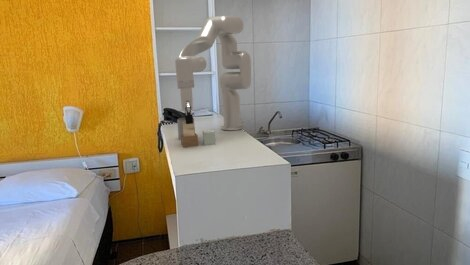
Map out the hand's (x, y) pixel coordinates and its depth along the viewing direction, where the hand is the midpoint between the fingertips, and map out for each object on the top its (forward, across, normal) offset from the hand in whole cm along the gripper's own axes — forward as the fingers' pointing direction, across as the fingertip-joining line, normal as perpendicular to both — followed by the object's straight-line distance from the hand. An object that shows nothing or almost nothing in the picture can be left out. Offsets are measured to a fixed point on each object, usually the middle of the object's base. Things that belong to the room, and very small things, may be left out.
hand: (189, 121), depth 173 cm
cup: (+12, -15, -1) cm, 19 cm away
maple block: (+6, +1, -1) cm, 6 cm away
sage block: (+11, +2, +8) cm, 14 cm away
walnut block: (+11, +1, -1) cm, 11 cm away
